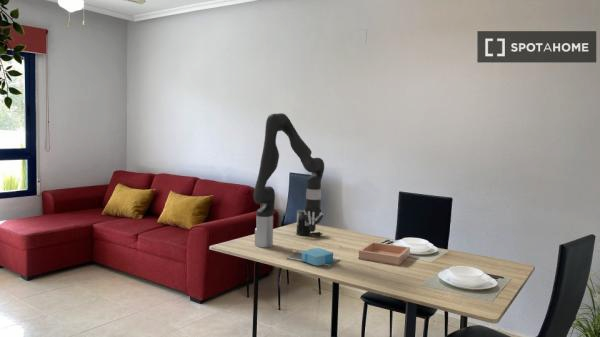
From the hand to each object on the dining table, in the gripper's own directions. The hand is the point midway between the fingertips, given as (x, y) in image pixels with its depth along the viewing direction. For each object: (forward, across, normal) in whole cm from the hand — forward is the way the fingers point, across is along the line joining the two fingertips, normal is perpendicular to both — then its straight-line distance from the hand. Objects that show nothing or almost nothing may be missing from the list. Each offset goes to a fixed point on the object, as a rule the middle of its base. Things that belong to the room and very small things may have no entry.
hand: (312, 231), depth 228 cm
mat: (+14, +1, 0) cm, 14 cm away
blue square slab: (+12, -1, -1) cm, 12 cm away
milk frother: (+15, -23, +43) cm, 51 cm away
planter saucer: (+14, +31, +22) cm, 41 cm away
